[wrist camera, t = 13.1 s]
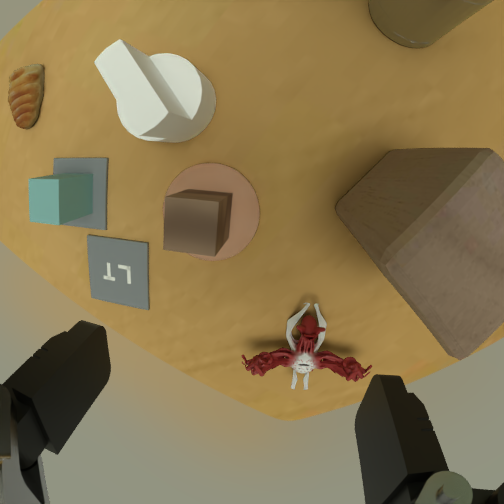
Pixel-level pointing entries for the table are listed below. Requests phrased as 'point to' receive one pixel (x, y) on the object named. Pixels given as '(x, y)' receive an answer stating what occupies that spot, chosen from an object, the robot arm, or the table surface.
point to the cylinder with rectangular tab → (157, 93)
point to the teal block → (60, 198)
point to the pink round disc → (243, 202)
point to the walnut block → (197, 221)
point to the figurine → (306, 353)
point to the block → (437, 237)
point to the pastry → (26, 94)
